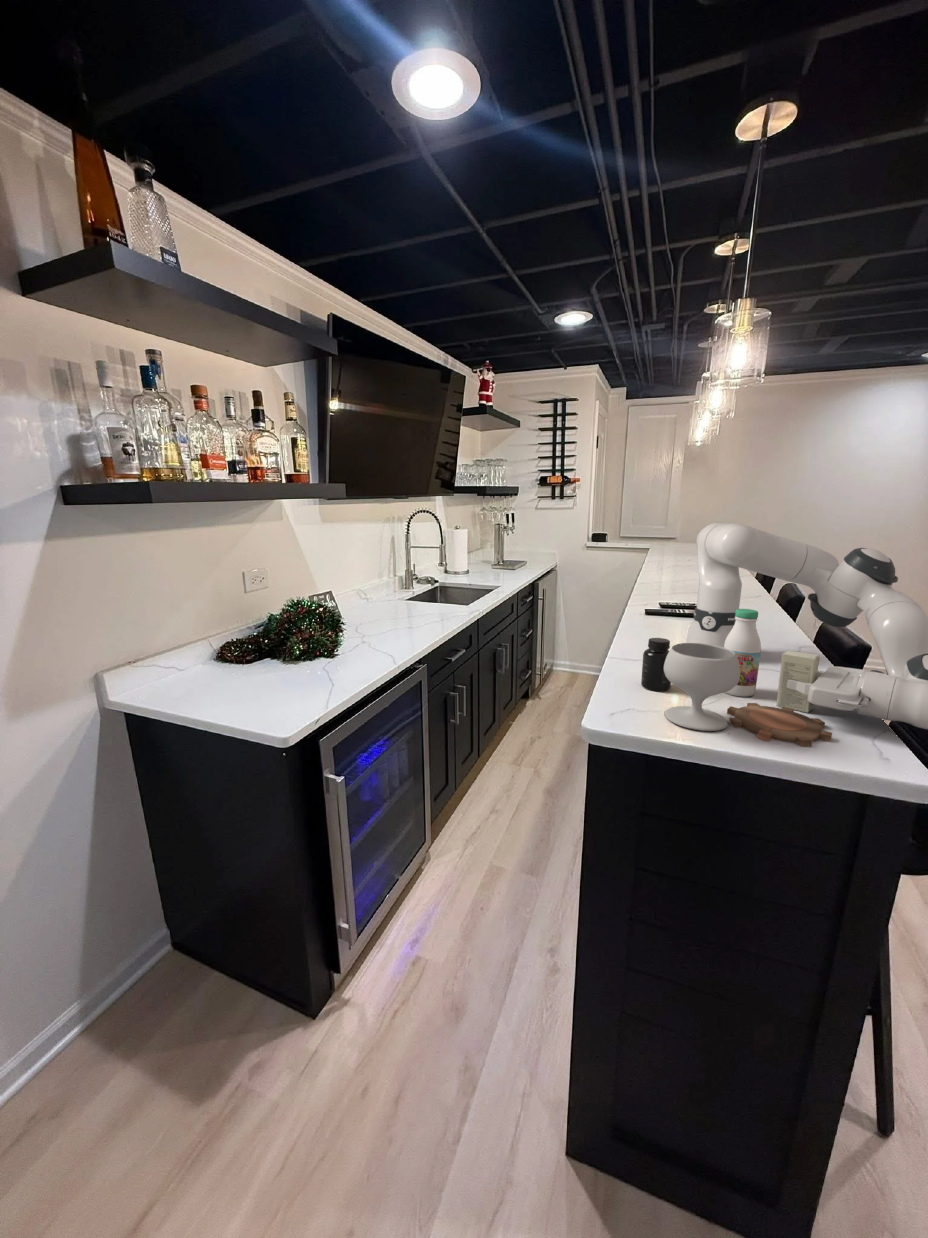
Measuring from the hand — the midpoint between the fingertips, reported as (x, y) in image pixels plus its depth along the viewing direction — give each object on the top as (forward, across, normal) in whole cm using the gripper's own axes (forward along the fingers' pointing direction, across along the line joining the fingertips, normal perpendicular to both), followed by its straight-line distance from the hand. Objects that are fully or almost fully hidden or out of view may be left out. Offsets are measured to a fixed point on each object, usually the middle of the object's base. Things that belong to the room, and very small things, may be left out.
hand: (793, 677), depth 109 cm
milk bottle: (+11, +1, -7) cm, 13 cm away
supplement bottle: (+26, -10, -7) cm, 29 cm away
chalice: (+12, -23, -7) cm, 27 cm away
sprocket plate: (-1, -14, -7) cm, 16 cm away
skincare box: (-1, 0, -7) cm, 7 cm away
